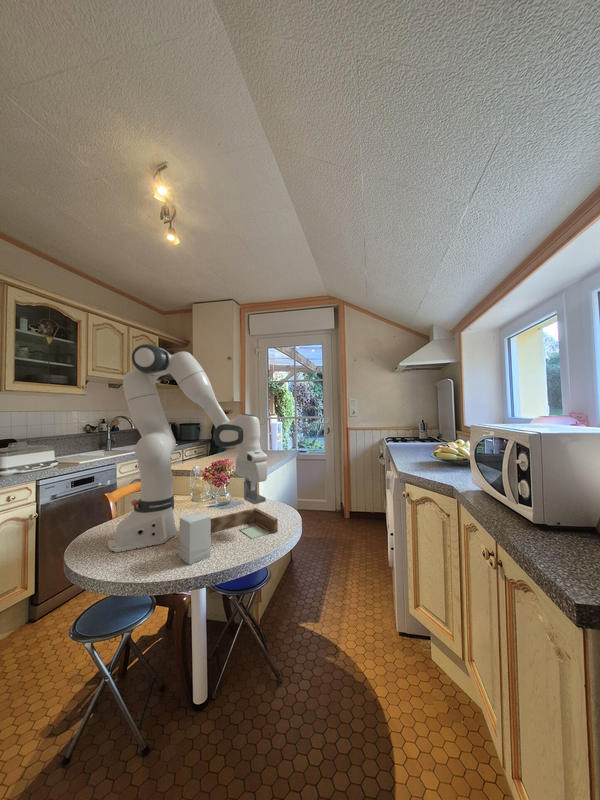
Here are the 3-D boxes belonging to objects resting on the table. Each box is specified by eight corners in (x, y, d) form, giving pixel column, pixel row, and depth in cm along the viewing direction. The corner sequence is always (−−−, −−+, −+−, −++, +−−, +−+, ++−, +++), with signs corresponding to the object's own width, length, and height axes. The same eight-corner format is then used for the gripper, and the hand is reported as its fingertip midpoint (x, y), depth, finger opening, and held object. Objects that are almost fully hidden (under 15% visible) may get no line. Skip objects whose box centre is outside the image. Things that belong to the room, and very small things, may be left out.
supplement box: (211, 556, 92) (211, 516, 93) (188, 565, 87) (189, 523, 88) (200, 549, 97) (200, 511, 98) (178, 557, 92) (179, 517, 93)
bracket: (265, 501, 110) (265, 483, 110) (254, 504, 107) (253, 485, 107) (255, 496, 116) (255, 479, 116) (244, 499, 113) (243, 481, 113)
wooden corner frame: (223, 549, 97) (223, 534, 97) (205, 533, 110) (205, 520, 111) (277, 532, 110) (277, 519, 111) (255, 519, 124) (255, 507, 124)
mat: (252, 539, 105) (252, 538, 105) (239, 530, 113) (239, 529, 113) (268, 533, 109) (268, 533, 109) (255, 525, 117) (255, 525, 117)
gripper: (231, 452, 121) (231, 486, 120) (255, 458, 105) (256, 496, 104) (244, 451, 125) (245, 483, 124) (269, 455, 109) (270, 492, 108)
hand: (250, 489), depth 114 cm, fingers closed on bracket
